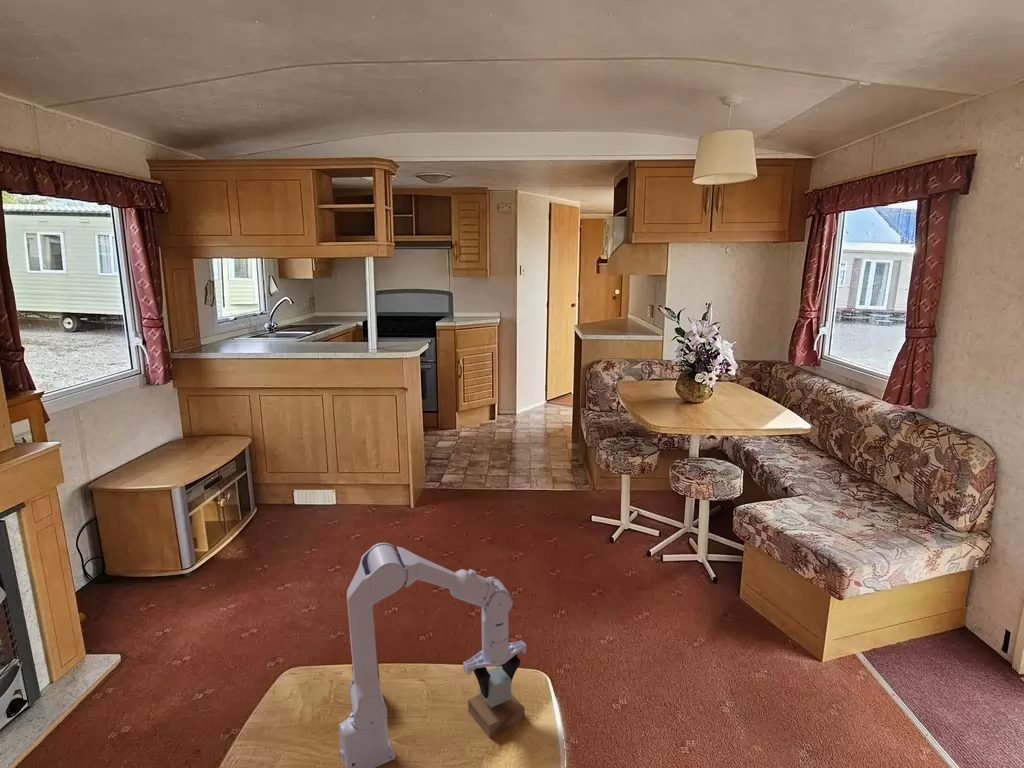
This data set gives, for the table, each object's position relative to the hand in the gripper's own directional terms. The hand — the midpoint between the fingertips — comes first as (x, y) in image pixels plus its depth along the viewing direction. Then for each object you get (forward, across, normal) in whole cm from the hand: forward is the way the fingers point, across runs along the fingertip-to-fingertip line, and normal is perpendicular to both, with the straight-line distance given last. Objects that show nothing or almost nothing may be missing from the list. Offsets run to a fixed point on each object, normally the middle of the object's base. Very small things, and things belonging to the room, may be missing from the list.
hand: (495, 690), depth 128 cm
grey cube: (+2, 0, 0) cm, 2 cm away
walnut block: (+7, 0, 0) cm, 7 cm away
